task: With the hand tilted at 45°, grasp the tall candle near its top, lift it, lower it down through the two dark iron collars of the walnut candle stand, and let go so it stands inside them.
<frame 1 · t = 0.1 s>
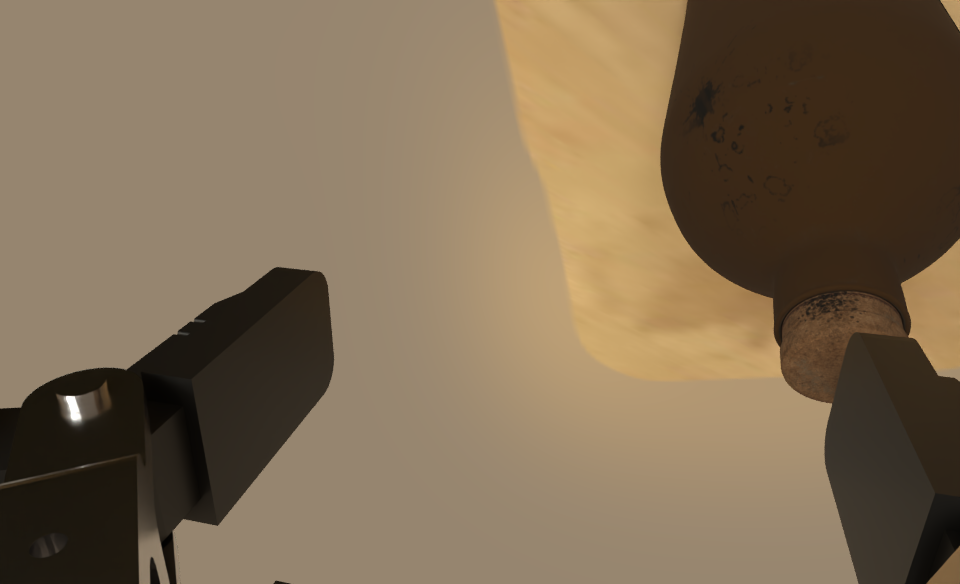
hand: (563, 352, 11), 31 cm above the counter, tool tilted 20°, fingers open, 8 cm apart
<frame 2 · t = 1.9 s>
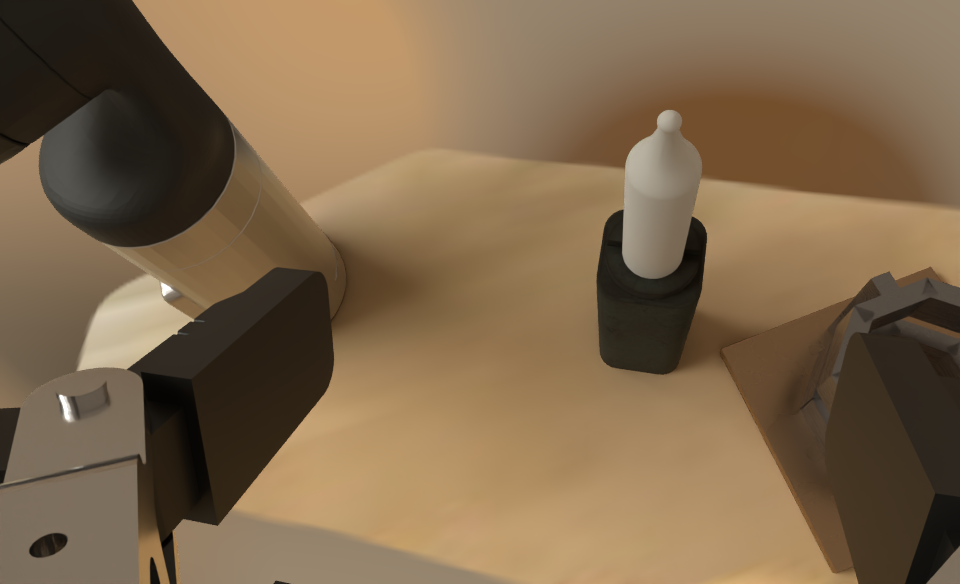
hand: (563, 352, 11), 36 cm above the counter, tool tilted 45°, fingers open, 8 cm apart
collar stand: (882, 413, 44), on the counter
candle: (641, 334, 49), on the counter
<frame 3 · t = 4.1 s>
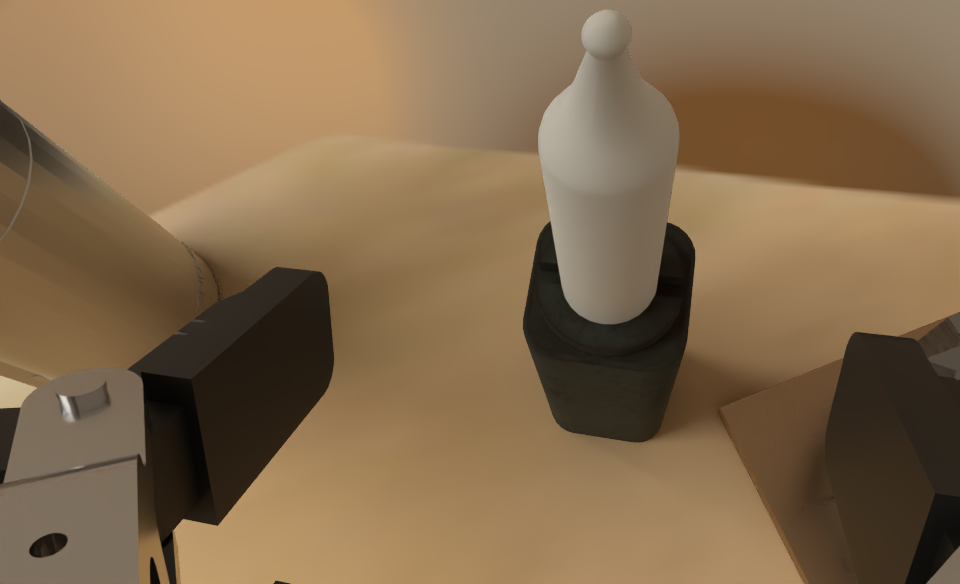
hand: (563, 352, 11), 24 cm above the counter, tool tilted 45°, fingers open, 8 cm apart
collar stand: (950, 502, 31), on the counter
candle: (609, 385, 35), on the counter
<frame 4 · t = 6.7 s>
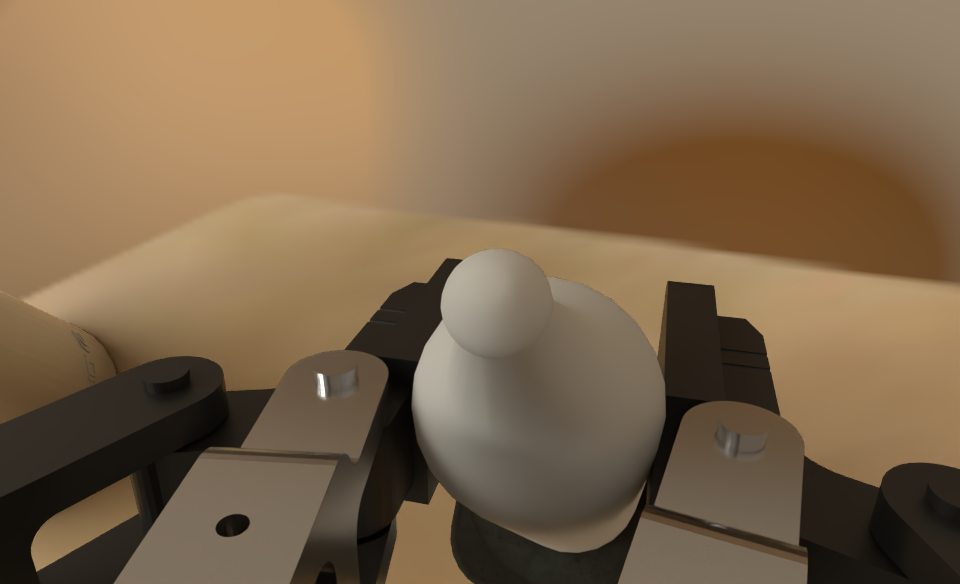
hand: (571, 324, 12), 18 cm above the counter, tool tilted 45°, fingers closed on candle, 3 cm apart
candle: (588, 523, 28), on the counter, touching gripper
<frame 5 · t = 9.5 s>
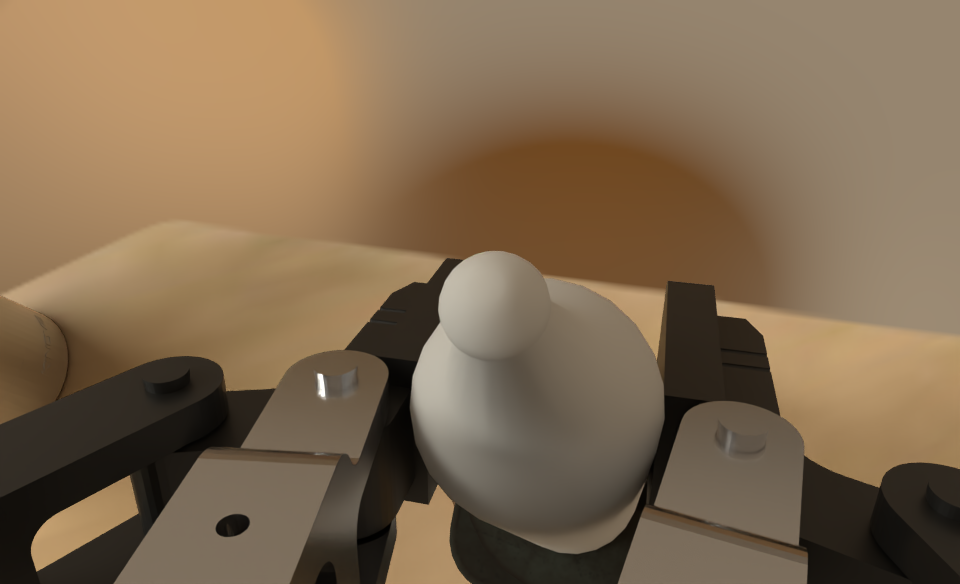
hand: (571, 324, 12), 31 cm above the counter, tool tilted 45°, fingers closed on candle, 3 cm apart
candle: (587, 523, 28), point 13 cm above the counter, touching gripper
when the fingers open (20 cm above the counter, at t = 12.5 s): candle stays where it is, resting on collar stand.
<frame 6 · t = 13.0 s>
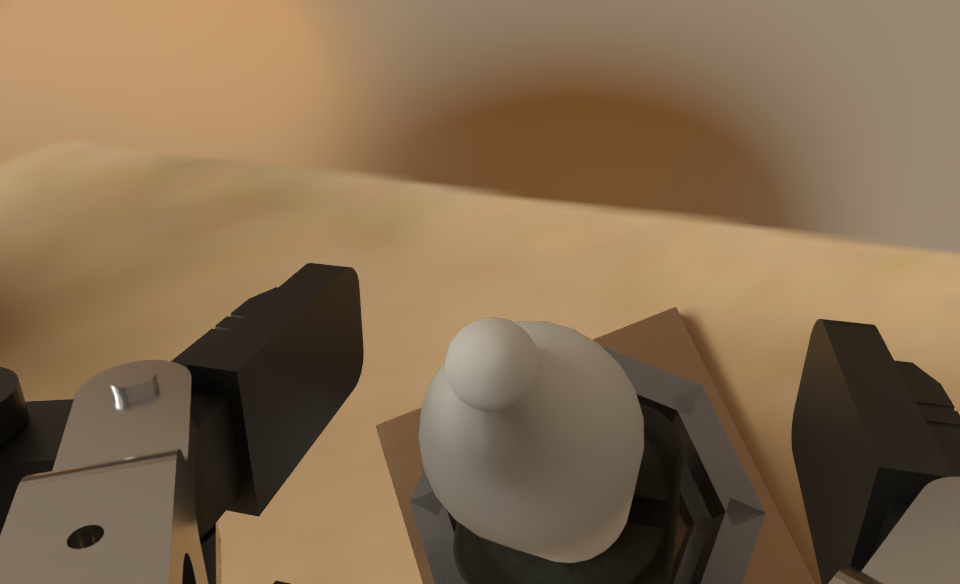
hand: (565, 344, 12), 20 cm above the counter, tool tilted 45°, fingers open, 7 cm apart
collar stand: (588, 526, 30), on the counter
candle: (586, 531, 29), point 1 cm above the counter, touching collar stand
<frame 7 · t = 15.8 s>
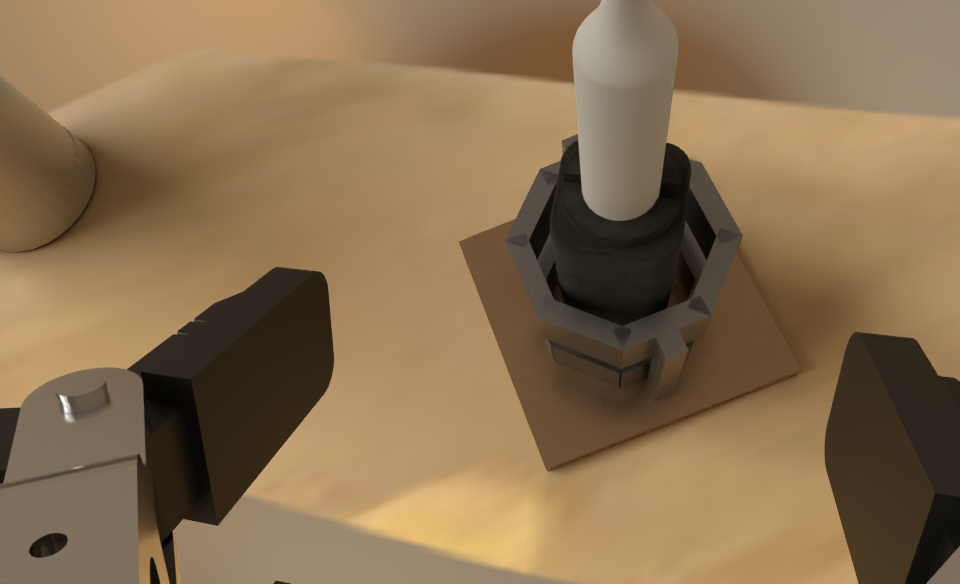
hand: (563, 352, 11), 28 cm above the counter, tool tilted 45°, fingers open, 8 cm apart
collar stand: (618, 306, 41), on the counter
candle: (616, 306, 41), point 1 cm above the counter, touching collar stand
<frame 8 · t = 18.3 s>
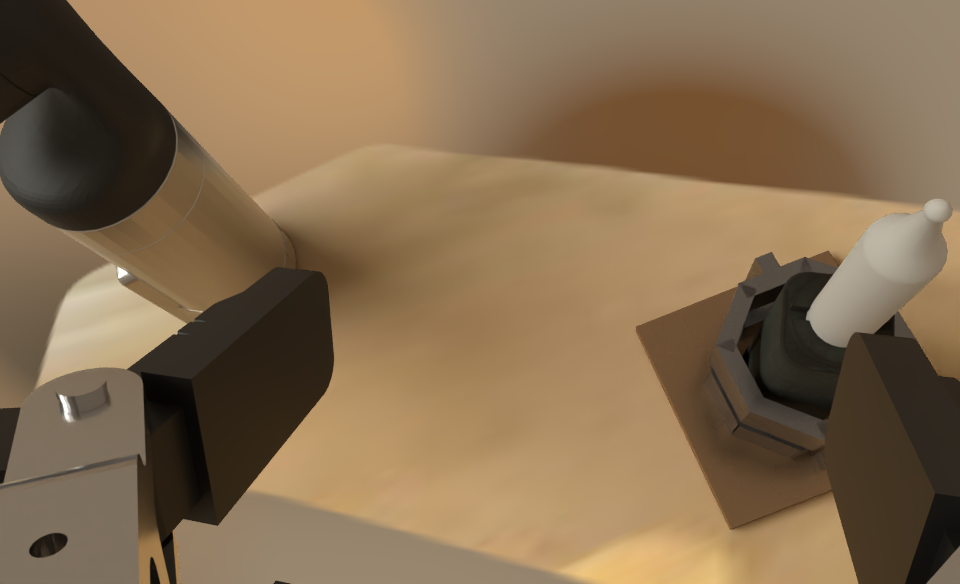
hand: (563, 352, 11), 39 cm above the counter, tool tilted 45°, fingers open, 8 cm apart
collar stand: (780, 384, 48), on the counter
candle: (781, 386, 48), point 1 cm above the counter, touching collar stand
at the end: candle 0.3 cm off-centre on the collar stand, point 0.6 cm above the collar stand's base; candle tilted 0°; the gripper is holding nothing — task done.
